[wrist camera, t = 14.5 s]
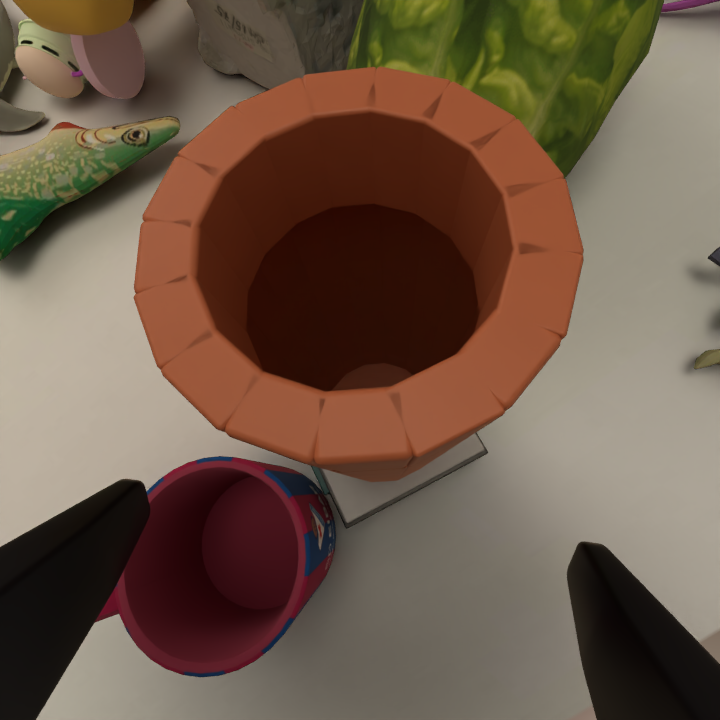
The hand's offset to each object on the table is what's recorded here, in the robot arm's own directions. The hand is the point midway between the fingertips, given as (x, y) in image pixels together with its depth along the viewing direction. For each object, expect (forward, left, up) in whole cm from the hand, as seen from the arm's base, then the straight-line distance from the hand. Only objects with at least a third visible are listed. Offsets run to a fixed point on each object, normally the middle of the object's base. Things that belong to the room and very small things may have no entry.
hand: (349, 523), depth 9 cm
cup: (+1, +7, -13) cm, 15 cm away
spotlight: (+37, +3, -12) cm, 39 cm away
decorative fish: (+31, +13, -12) cm, 36 cm away
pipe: (+3, -2, -9) cm, 10 cm away
